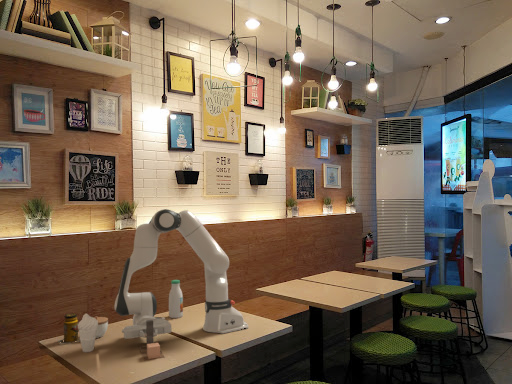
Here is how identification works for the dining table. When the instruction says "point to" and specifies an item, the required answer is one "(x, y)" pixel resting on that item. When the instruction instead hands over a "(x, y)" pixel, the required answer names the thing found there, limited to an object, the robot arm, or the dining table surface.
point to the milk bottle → (175, 300)
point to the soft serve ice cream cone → (87, 332)
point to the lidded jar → (101, 326)
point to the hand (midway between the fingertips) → (150, 335)
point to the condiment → (70, 329)
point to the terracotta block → (153, 350)
